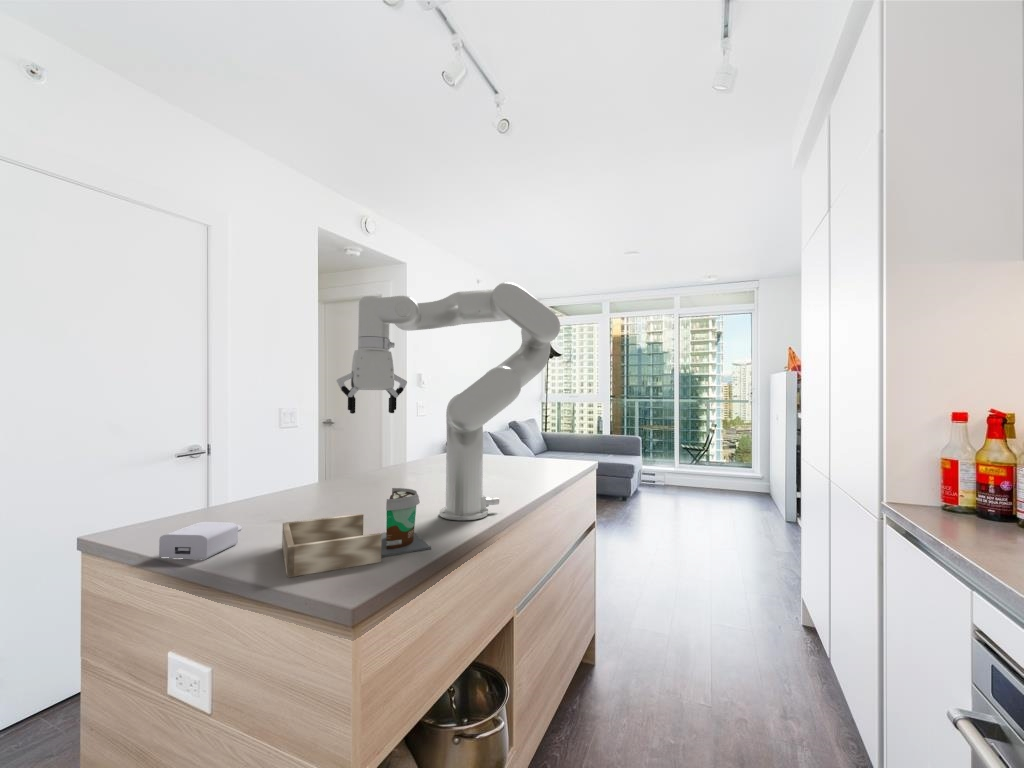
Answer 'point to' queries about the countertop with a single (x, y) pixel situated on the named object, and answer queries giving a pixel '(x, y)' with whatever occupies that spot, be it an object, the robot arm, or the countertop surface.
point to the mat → (414, 546)
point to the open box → (328, 545)
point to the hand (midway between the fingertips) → (372, 413)
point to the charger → (199, 540)
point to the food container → (401, 517)
